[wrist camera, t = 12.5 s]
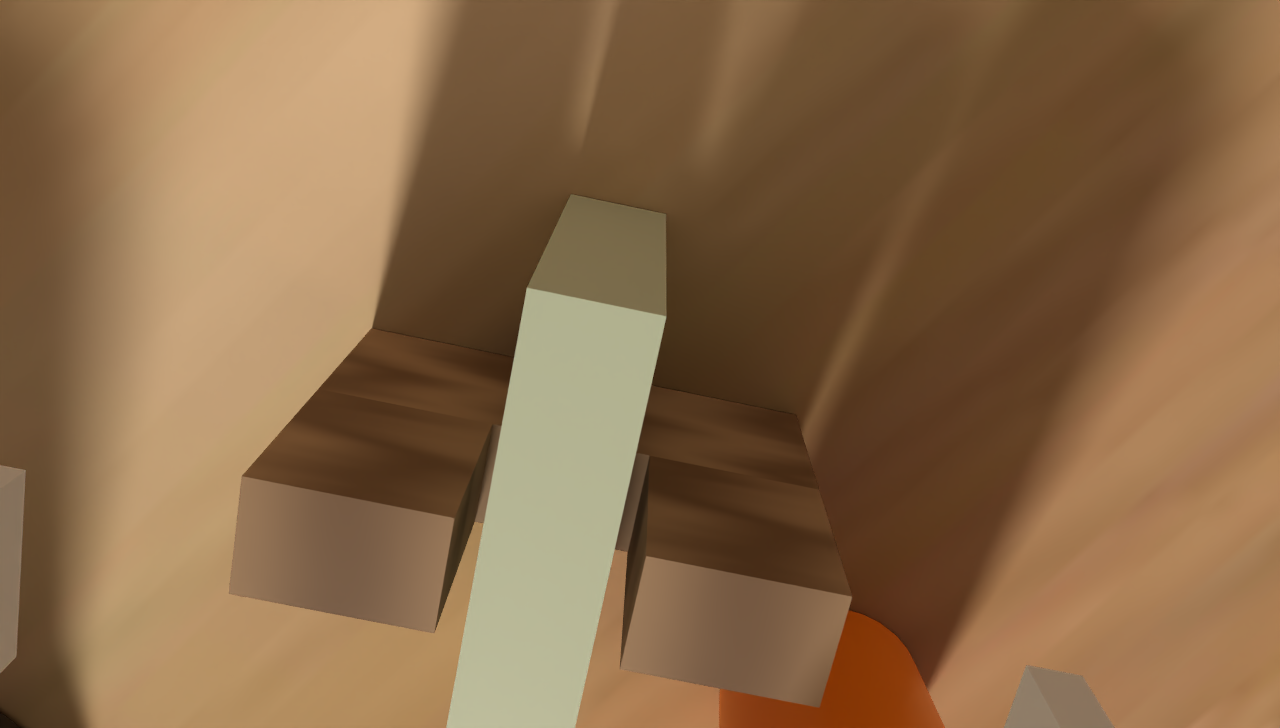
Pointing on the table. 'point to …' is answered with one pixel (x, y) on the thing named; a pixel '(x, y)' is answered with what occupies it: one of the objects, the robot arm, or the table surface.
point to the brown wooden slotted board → (458, 495)
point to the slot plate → (562, 467)
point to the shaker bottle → (848, 689)
